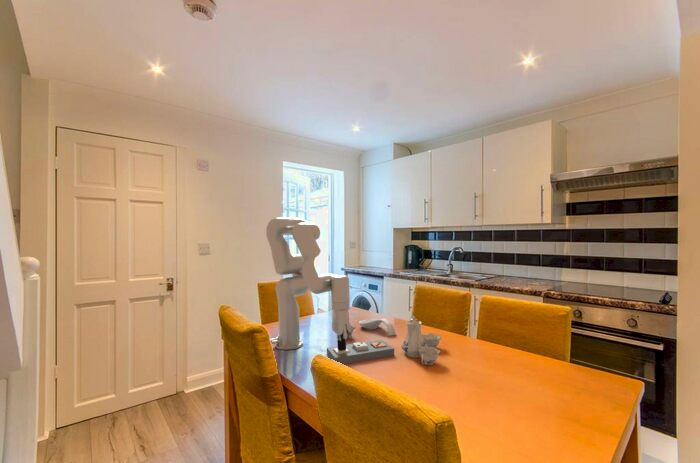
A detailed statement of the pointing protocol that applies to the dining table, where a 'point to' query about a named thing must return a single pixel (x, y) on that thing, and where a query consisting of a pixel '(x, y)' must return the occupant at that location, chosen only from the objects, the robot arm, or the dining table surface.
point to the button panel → (361, 353)
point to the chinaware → (420, 343)
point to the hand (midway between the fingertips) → (341, 349)
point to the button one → (340, 351)
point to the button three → (378, 345)
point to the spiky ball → (350, 331)
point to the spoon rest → (374, 323)
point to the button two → (360, 346)
